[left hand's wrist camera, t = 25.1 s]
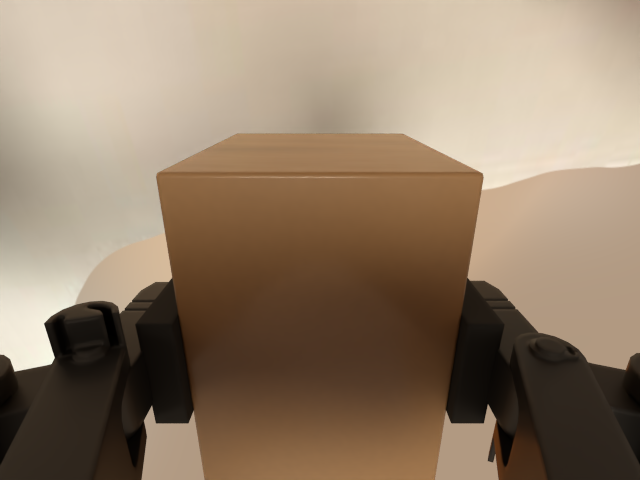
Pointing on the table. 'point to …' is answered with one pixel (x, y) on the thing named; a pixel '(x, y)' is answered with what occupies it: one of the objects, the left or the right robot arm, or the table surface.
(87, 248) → the table surface
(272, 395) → the brick
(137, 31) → the table surface
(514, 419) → the left robot arm
